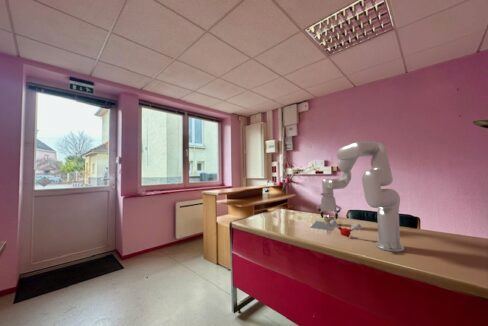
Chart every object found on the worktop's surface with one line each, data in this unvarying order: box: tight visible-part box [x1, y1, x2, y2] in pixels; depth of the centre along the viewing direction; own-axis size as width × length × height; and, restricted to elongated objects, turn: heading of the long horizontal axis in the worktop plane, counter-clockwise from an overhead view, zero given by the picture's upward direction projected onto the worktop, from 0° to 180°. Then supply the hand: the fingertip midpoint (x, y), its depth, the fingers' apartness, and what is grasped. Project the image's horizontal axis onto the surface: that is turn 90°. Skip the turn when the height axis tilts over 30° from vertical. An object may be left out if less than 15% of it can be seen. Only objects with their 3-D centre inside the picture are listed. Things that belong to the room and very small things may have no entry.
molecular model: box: [330, 219, 362, 238], centre depth 127 cm, size 18×6×10 cm, turn 50°
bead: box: [323, 215, 335, 225], centre depth 151 cm, size 6×6×5 cm
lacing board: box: [309, 220, 338, 232], centre depth 148 cm, size 20×15×2 cm
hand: (329, 218), depth 151 cm, fingers open, 9 cm apart
